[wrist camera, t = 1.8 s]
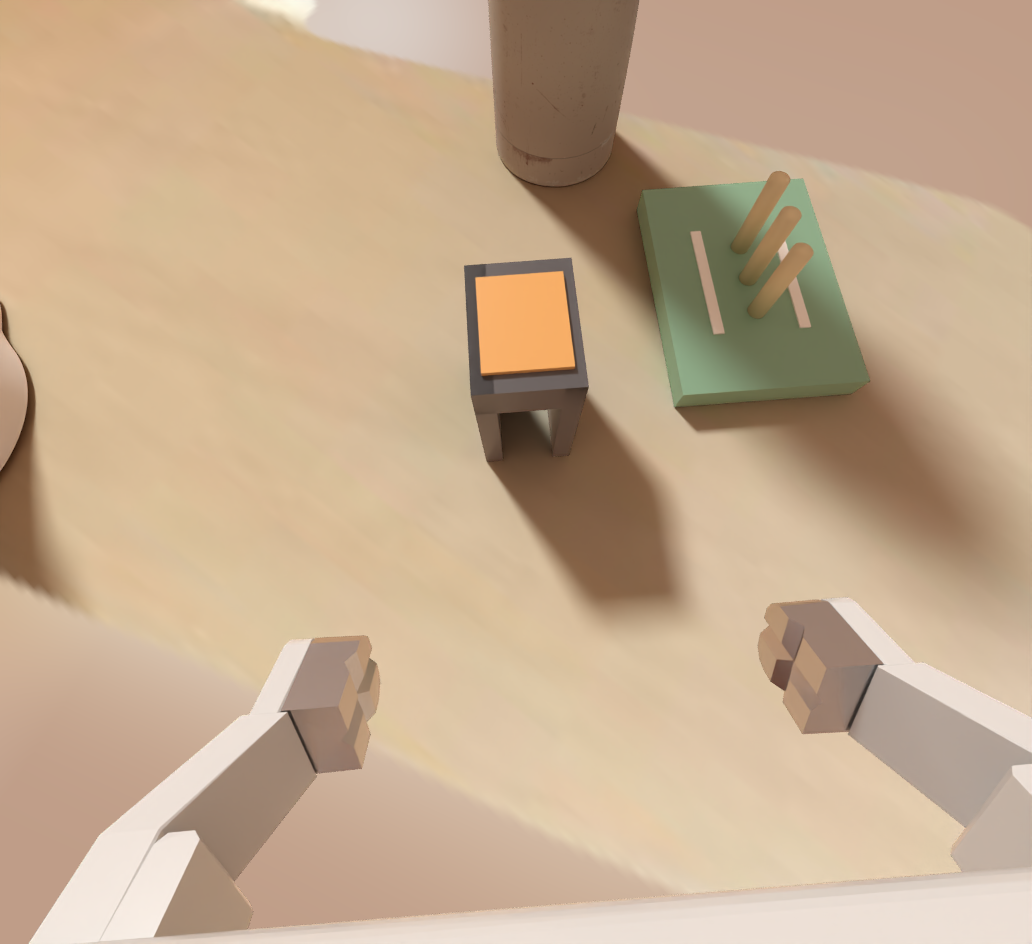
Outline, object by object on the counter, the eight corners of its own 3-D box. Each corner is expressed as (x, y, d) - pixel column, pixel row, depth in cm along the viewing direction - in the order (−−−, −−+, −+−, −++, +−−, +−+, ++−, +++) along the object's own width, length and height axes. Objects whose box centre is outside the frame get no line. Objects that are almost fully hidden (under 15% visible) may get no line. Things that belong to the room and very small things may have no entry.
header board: (851, 393, 26) (943, 332, 20) (674, 407, 26) (717, 348, 20) (789, 199, 30) (852, 102, 24) (636, 210, 30) (663, 115, 24)
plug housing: (569, 455, 25) (589, 384, 18) (486, 461, 25) (470, 393, 17) (557, 358, 27) (571, 254, 19) (480, 364, 27) (463, 262, 19)
